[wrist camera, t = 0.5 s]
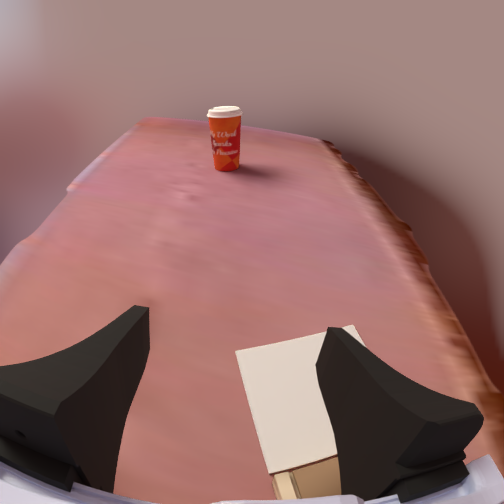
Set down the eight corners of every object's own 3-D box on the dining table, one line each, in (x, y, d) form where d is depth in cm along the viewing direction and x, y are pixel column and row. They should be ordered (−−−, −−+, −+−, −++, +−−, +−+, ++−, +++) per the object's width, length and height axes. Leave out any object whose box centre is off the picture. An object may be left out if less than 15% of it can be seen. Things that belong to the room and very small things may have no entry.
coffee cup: (204, 171, 73) (200, 111, 64) (217, 160, 79) (214, 105, 70) (237, 174, 71) (235, 112, 62) (248, 162, 77) (247, 106, 69)
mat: (406, 425, 24) (407, 424, 24) (268, 474, 21) (269, 473, 21) (352, 326, 35) (352, 324, 35) (235, 353, 32) (235, 350, 32)
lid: (458, 517, 13) (486, 508, 10) (331, 583, 11) (346, 590, 8) (413, 425, 21) (434, 405, 18) (291, 472, 19) (298, 459, 16)
